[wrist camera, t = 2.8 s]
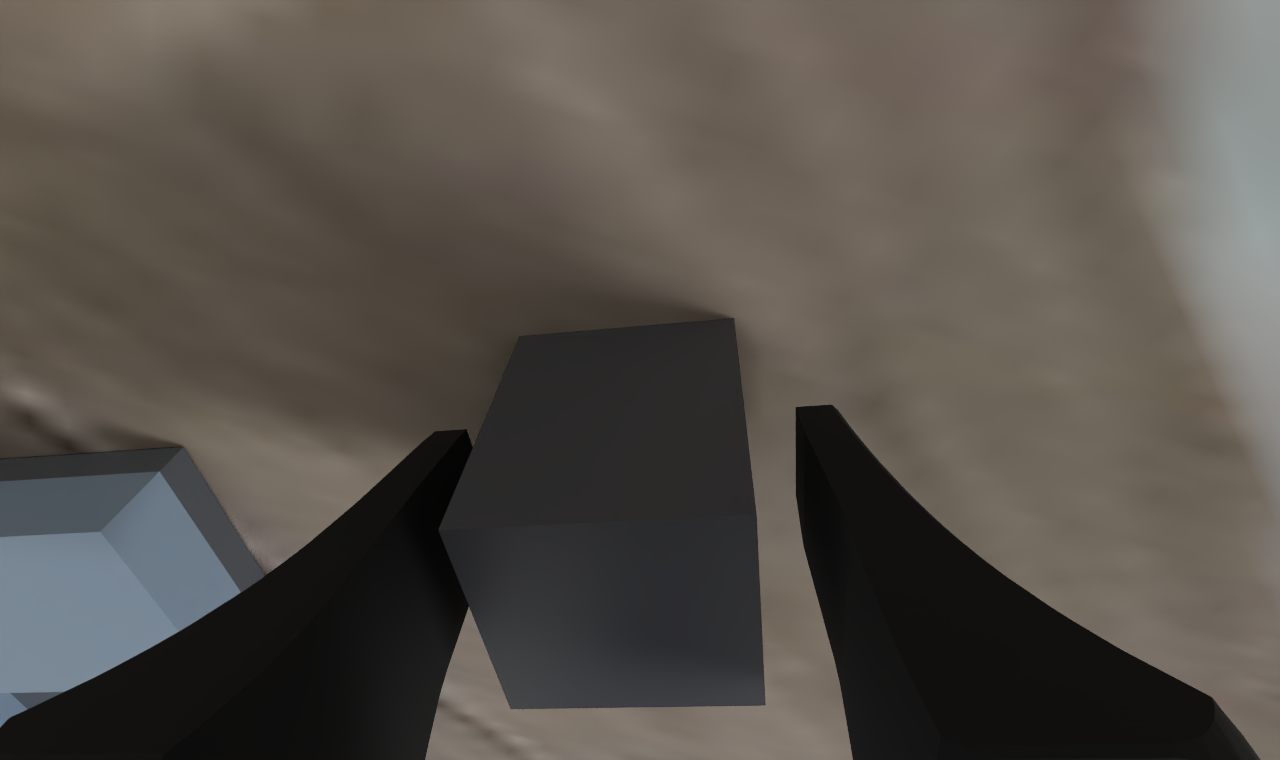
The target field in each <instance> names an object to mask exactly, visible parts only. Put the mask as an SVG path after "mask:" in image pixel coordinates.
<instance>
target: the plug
mask: <svg viewBox="0 0 1280 760" xmlns="http://www.w3.org/2000/svg"><path fill="white" fill-rule="evenodd" d="M438 531H439V533H440V536H441V538H442V541H443V543H444V545H445V548H446V550H447V553H448V555H449V558H450V560H451V563H452V565H453V568H454V570H455V573H456V575H457V578H458V580H459V582H460V585H461V587H462V590H463V592H464V595H465V597H466V600H467V602H468V605H469V607H470V610H471V612H472V615H473V617H474V620H475V622H476V624H477V627H478V629H479V632H480V634H481V637H482V639H483V642H484V644H485V647H486V649H487V652H488V654H489V657H490V659H491V661H492V664H493V666H494V669H495V671H496V674H497V676H498V679H499V681H500V684H501V686H502V689H503V691H504V694H505V696H506V699H507V701H508V703H509V706H510V708H511V709H550V708H619V707H689V706H759V705H765V687H764V665H763V644H762V623H761V602H760V580H759V559H758V538H757V517H756V507H755V498H754V489H753V481H752V472H751V463H750V454H749V446H748V437H747V428H746V419H745V411H744V402H743V393H742V384H741V376H740V367H739V358H738V349H737V341H736V332H735V323H734V318H732V319H720V320H708V321H696V322H684V323H672V324H661V325H649V326H637V327H625V328H613V329H601V330H589V331H577V332H566V333H554V334H542V335H530V336H520V337H519V340H518V342H517V344H516V347H515V349H514V351H513V354H512V356H511V359H510V361H509V363H508V366H507V368H506V370H505V373H504V375H503V378H502V380H501V382H500V385H499V387H498V389H497V392H496V394H495V396H494V399H493V401H492V404H491V406H490V408H489V411H488V413H487V415H486V418H485V420H484V423H483V425H482V427H481V430H480V432H479V434H478V437H477V439H476V442H475V444H474V446H473V449H472V451H471V453H470V456H469V458H468V461H467V463H466V465H465V468H464V470H463V472H462V475H461V477H460V480H459V482H458V484H457V487H456V489H455V491H454V494H453V496H452V499H451V501H450V503H449V506H448V508H447V510H446V513H445V515H444V518H443V520H442V522H441V525H440V527H439V529H438Z"/></svg>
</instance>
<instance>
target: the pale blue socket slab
mask: <svg viewBox="0 0 1280 760" xmlns="http://www.w3.org/2000/svg"><path fill="white" fill-rule="evenodd" d="M264 576H265V575H264V574H263V572H262V570H261V569H260V567H259V566H258V564H257V563H256V561H255V559H254V558H253V556H252V555H251V553H250V551H249V550H248V548H247V547H246V545H245V544H244V542H243V540H242V539H241V537H240V536H239V534H238V533H237V531H236V529H235V528H234V526H233V525H232V523H231V521H230V520H229V518H228V517H227V515H226V514H225V512H224V510H223V509H222V507H221V506H220V504H219V502H218V501H217V499H216V498H215V496H214V495H213V493H212V491H211V490H210V488H209V487H208V485H207V483H206V482H205V480H204V479H203V477H202V476H201V474H200V472H199V471H198V469H197V468H196V466H195V464H194V463H193V461H192V460H191V458H190V457H189V455H188V453H187V452H186V450H185V449H184V447H177V448H162V449H147V450H132V451H118V452H103V453H88V454H74V455H59V456H44V457H29V458H15V459H0V727H1V726H2V725H3V724H4V723H5V722H6V721H7V720H8V719H9V718H10V717H12V716H14V715H16V714H19V713H21V712H23V711H25V710H27V709H30V708H32V707H34V706H36V705H38V704H40V703H42V702H44V701H46V700H48V699H50V698H52V697H55V696H57V695H59V694H61V693H63V692H65V691H67V690H69V689H71V688H73V687H75V686H77V685H80V684H82V683H84V682H86V681H88V680H90V679H92V678H94V677H96V676H98V675H100V674H102V673H104V672H106V671H108V670H110V669H112V668H114V667H116V666H117V665H119V664H121V663H123V662H125V661H127V660H129V659H130V658H132V657H134V656H136V655H138V654H140V653H142V652H143V651H145V650H147V649H149V648H151V647H153V646H154V645H156V644H158V643H160V642H161V641H163V640H165V639H167V638H168V637H170V636H172V635H174V634H175V633H177V632H179V631H181V630H182V629H184V628H186V627H187V626H189V625H191V624H192V623H194V622H195V621H197V620H198V619H200V618H202V617H203V616H205V615H206V614H208V613H210V612H211V611H213V610H214V609H216V608H217V607H219V606H221V605H222V604H224V603H225V602H227V601H228V600H230V599H232V598H233V597H235V596H236V595H238V594H239V593H241V592H243V591H244V590H246V589H247V588H249V587H250V586H251V585H253V584H254V583H256V582H257V581H259V580H260V579H261V578H263V577H264Z"/></svg>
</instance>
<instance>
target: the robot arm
mask: <svg viewBox="0 0 1280 760" xmlns="http://www.w3.org/2000/svg"><path fill="white" fill-rule="evenodd" d="M472 449H473V447H472V444H471V441H470V438H469V435H468V432H467V429H465V430H450V431H436V432H434V433H433V434H432V435H430V436H429V437H428V438H427V439H426V440H424V441H423V442H422V443H421V444H420V445H419V446H418V447H417V448H415V449H414V450H413V451H412V452H411V453H410V454H409V455H408V456H407V457H406V458H405V459H404V460H402V461H401V462H400V463H399V464H398V465H397V466H396V467H395V468H394V469H393V470H392V471H391V472H390V473H389V474H387V475H386V476H385V477H384V478H383V479H382V480H381V481H380V482H379V483H378V484H377V485H375V486H374V487H373V488H372V489H371V490H370V491H369V492H368V493H367V494H366V495H364V496H363V497H362V498H361V499H360V500H359V501H358V502H357V503H356V504H355V505H353V506H352V507H351V508H350V509H349V510H348V511H346V512H345V513H344V514H343V515H342V516H340V517H339V518H338V519H337V520H336V521H334V522H333V523H332V524H331V525H330V526H329V527H327V528H326V529H325V530H324V531H323V532H321V533H320V534H319V535H318V536H317V537H315V538H314V539H313V540H312V541H311V542H310V543H308V544H307V545H306V546H304V547H303V548H302V549H301V550H299V551H298V552H297V553H296V554H294V555H293V556H292V557H290V558H289V559H288V560H286V561H285V562H284V563H282V564H281V565H280V566H278V567H277V568H275V569H274V570H273V571H271V572H270V573H268V574H267V575H266V576H264V577H263V578H261V579H260V580H259V581H257V582H256V583H254V584H253V585H251V586H250V587H249V588H247V589H246V590H244V591H243V592H241V593H239V594H238V595H236V596H235V597H233V598H232V599H230V600H228V601H227V602H225V603H224V604H222V605H221V606H219V607H217V608H216V609H214V610H213V611H211V612H210V613H208V614H206V615H205V616H203V617H202V618H200V619H198V620H197V621H195V622H194V623H192V624H191V625H189V626H187V627H186V628H184V629H182V630H181V631H179V632H177V633H175V634H174V635H172V636H170V637H168V638H167V639H165V640H163V641H161V642H160V643H158V644H156V645H154V646H153V647H151V648H149V649H147V650H145V651H143V652H142V653H140V654H138V655H136V656H134V657H132V658H130V659H129V660H127V661H125V662H123V663H121V664H119V665H117V666H116V667H114V668H112V669H110V670H108V671H106V672H104V673H102V674H100V675H98V676H96V677H94V678H92V679H90V680H88V681H86V682H84V683H82V684H80V685H77V686H75V687H73V688H71V689H69V690H67V691H65V692H63V693H61V694H59V695H57V696H55V697H52V698H50V699H48V700H46V701H44V702H42V703H40V704H38V705H36V706H34V707H32V708H30V709H27V710H25V711H23V712H21V713H19V714H16V715H14V716H12V717H10V718H9V719H8V720H7V721H6V722H5V723H4V724H3V725H2V726H1V727H0V760H425V757H426V752H427V747H428V743H429V739H430V734H431V730H432V726H433V721H434V717H435V713H436V708H437V704H438V700H439V696H440V692H441V689H442V685H443V682H444V678H445V675H446V672H447V668H448V665H449V663H450V660H451V657H452V654H453V651H454V648H455V645H456V642H457V639H458V636H459V633H460V630H461V628H462V625H463V622H464V619H465V616H466V613H467V610H468V607H469V605H468V602H467V600H466V597H465V595H464V592H463V590H462V587H461V585H460V582H459V580H458V578H457V575H456V573H455V570H454V568H453V565H452V563H451V560H450V558H449V555H448V553H447V550H446V548H445V545H444V543H443V541H442V538H441V536H440V533H439V531H438V529H439V527H440V525H441V522H442V520H443V518H444V515H445V513H446V510H447V508H448V506H449V503H450V501H451V499H452V496H453V494H454V491H455V489H456V487H457V484H458V482H459V480H460V477H461V475H462V472H463V470H464V468H465V465H466V463H467V461H468V458H469V456H470V453H471V451H472ZM796 498H797V505H798V512H799V519H800V525H801V532H802V538H803V545H804V549H805V553H806V556H807V560H808V564H809V568H810V571H811V575H812V579H813V583H814V586H815V590H816V594H817V597H818V601H819V605H820V608H821V612H822V616H823V619H824V623H825V627H826V630H827V634H828V638H829V641H830V645H831V649H832V652H833V656H834V659H835V664H836V668H837V673H838V677H839V681H840V686H841V691H842V697H843V703H844V709H845V715H846V720H847V726H848V732H849V738H850V744H851V750H852V756H853V760H1260V759H1259V757H1258V756H1257V754H1256V753H1255V751H1254V750H1253V749H1252V747H1251V746H1250V745H1249V743H1248V742H1247V740H1246V739H1245V738H1244V736H1243V735H1242V734H1241V732H1240V731H1239V730H1238V729H1237V728H1236V726H1235V725H1234V724H1233V723H1232V722H1231V720H1230V719H1229V718H1228V717H1227V716H1226V715H1225V713H1224V712H1223V711H1222V710H1221V708H1220V707H1219V706H1218V704H1217V703H1216V702H1215V701H1214V699H1213V698H1212V697H1210V696H1208V695H1207V694H1205V693H1203V692H1201V691H1199V690H1197V689H1195V688H1193V687H1191V686H1189V685H1187V684H1186V683H1184V682H1182V681H1180V680H1178V679H1176V678H1174V677H1172V676H1170V675H1168V674H1166V673H1165V672H1163V671H1161V670H1159V669H1157V668H1155V667H1153V666H1151V665H1149V664H1147V663H1145V662H1144V661H1142V660H1140V659H1138V658H1136V657H1134V656H1132V655H1130V654H1128V653H1126V652H1125V651H1123V650H1121V649H1119V648H1117V647H1116V646H1114V645H1112V644H1111V643H1109V642H1107V641H1106V640H1104V639H1102V638H1100V637H1099V636H1097V635H1095V634H1094V633H1092V632H1090V631H1089V630H1087V629H1085V628H1084V627H1082V626H1080V625H1079V624H1077V623H1075V622H1074V621H1072V620H1070V619H1069V618H1067V617H1066V616H1064V615H1062V614H1061V613H1059V612H1058V611H1056V610H1055V609H1053V608H1051V607H1050V606H1048V605H1047V604H1046V603H1044V602H1043V601H1041V600H1040V599H1038V598H1037V597H1035V596H1034V595H1032V594H1031V593H1029V592H1028V591H1027V590H1025V589H1024V588H1022V587H1021V586H1019V585H1018V584H1016V583H1015V582H1013V581H1012V580H1010V579H1009V578H1007V577H1006V576H1005V575H1003V574H1002V573H1001V572H999V571H998V570H997V569H995V568H994V567H993V566H991V565H990V564H989V563H987V562H986V561H985V560H983V559H982V558H981V557H980V556H978V555H977V554H976V553H975V552H974V551H972V550H971V549H970V548H969V547H967V546H966V545H965V544H964V543H962V542H961V541H960V540H959V539H958V538H957V537H955V536H954V535H953V534H952V533H951V532H950V531H948V530H947V529H946V528H945V527H944V526H943V525H942V524H941V523H940V522H938V521H937V520H936V519H935V518H934V517H933V516H932V515H931V514H930V513H929V512H928V511H927V510H926V509H925V508H924V507H922V506H921V505H920V504H919V503H918V502H917V501H916V500H915V499H914V498H913V497H912V496H911V495H910V494H909V493H908V492H907V491H906V490H905V489H904V488H903V487H902V486H901V485H900V483H899V482H898V481H897V480H896V479H895V478H894V477H893V476H892V475H891V474H890V473H889V472H888V471H887V469H886V468H885V467H884V466H883V465H882V464H881V463H880V462H879V461H878V460H877V458H876V457H875V456H874V455H873V454H872V453H871V452H870V450H869V449H868V448H867V447H866V446H865V444H864V443H863V442H862V441H861V440H860V438H859V437H858V436H857V435H856V433H855V432H854V431H853V430H852V428H851V427H850V426H849V424H848V423H847V422H846V420H845V419H844V418H843V416H842V415H841V414H840V412H839V411H838V410H837V409H836V408H835V407H834V406H833V405H820V406H805V407H796Z"/></svg>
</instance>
